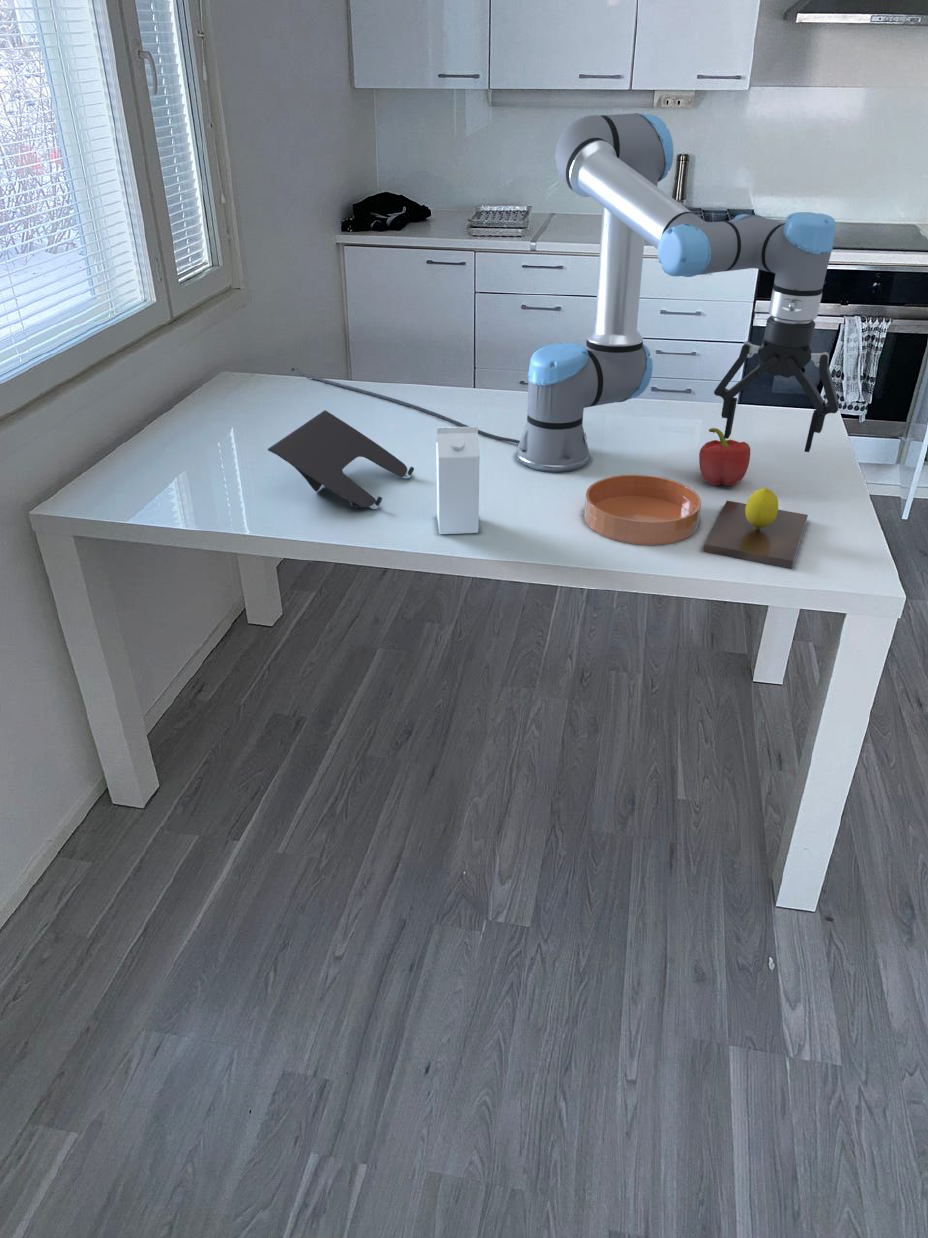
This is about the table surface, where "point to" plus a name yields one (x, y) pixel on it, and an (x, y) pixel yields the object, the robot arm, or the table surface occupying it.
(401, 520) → the table surface
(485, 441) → the table surface
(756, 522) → the lemon
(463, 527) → the milk carton
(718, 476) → the vegetable
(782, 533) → the board
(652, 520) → the basin
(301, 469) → the laptop tray
